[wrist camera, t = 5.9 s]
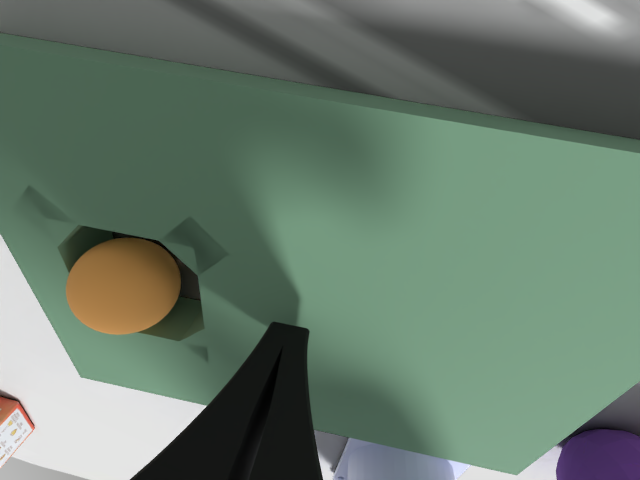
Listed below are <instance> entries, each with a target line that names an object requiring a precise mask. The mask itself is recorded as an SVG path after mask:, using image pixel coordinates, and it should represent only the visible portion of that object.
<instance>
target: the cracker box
mask: <svg viewBox="0 0 640 480" xmlns="http://www.w3.org/2000/svg"><path fill="white" fill-rule="evenodd" d="M34 429H35V427H34V426H33V424H32V422H31V421H30V419H29V418H28V416H27V415H26V413H25V411H24V410H23V408H22V407H21V405H20V404H19V402H17V401H14V400H11V399H7V398H3V397H0V468H1V467H2V466H3V465H4V463H6V461H7V460H8V459H9V458H10V457H11V456H12V455H13V453H14V452H15V451H16V450H17V449H18V447H19V446H20V445H21V444H22V443H23V442H24V441H25V439H26V438H27V437H28V436H29V435H30V434H31V433H32V431H33V430H34Z"/></svg>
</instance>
